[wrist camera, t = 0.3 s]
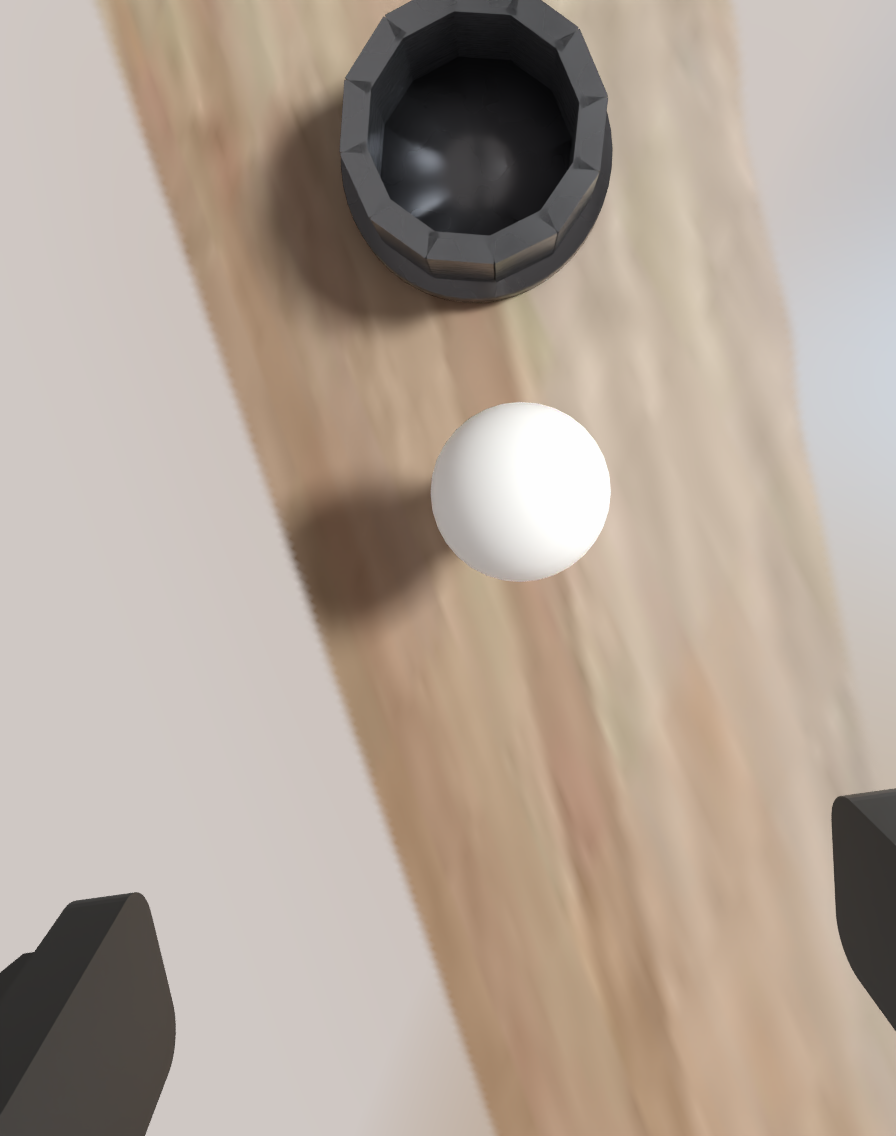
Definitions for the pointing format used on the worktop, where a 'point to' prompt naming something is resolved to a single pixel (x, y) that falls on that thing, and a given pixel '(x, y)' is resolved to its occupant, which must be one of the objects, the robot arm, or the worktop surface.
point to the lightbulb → (520, 491)
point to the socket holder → (475, 145)
